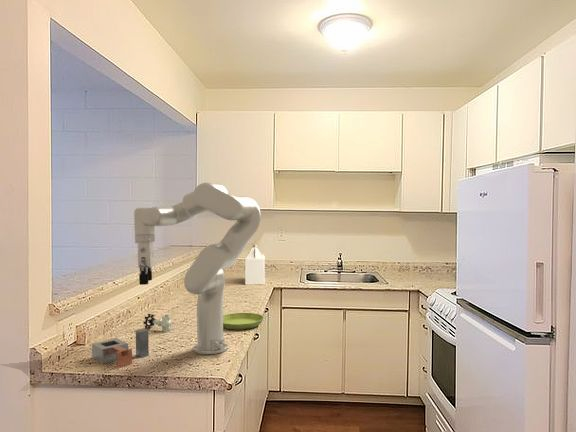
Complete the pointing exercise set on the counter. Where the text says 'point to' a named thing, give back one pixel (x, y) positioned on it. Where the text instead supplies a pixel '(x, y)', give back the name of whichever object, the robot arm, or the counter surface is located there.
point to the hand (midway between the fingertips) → (145, 282)
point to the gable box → (255, 266)
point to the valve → (159, 322)
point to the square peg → (142, 343)
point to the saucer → (242, 320)
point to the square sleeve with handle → (112, 352)
